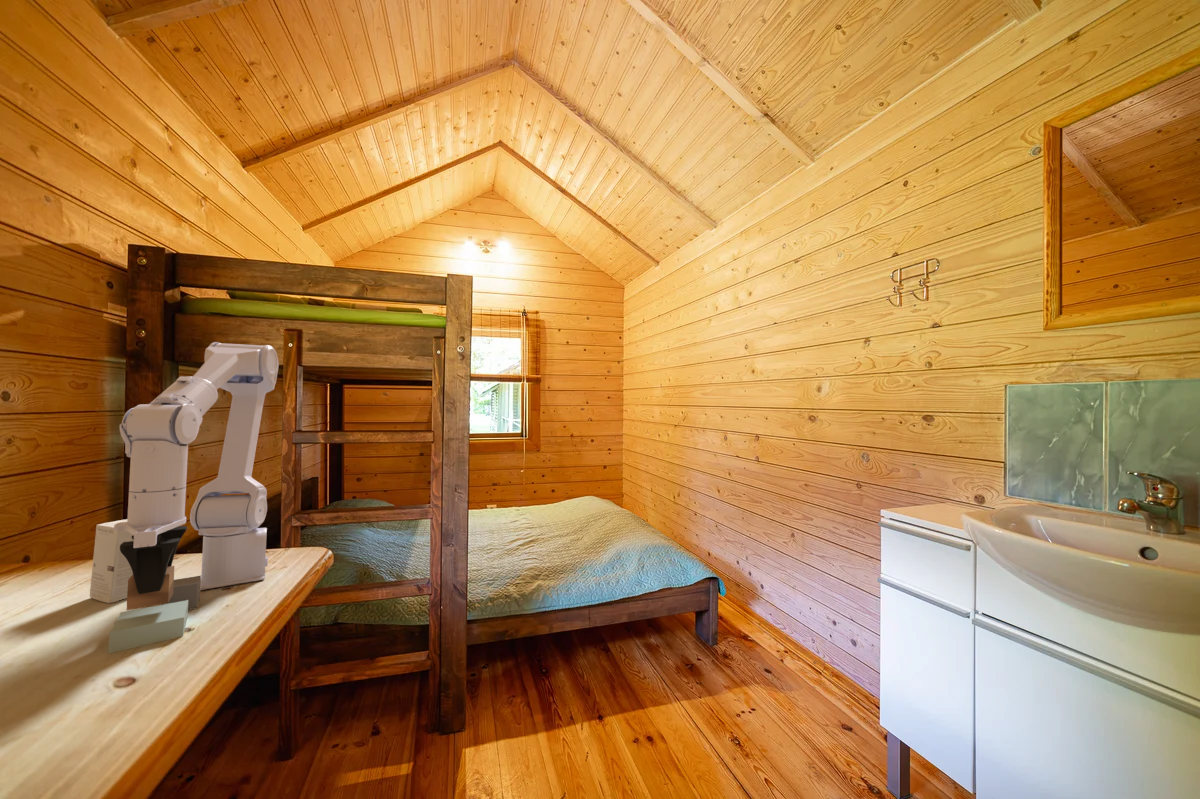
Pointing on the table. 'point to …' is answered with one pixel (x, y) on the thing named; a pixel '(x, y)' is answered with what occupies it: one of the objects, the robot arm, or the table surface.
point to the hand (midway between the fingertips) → (153, 586)
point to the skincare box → (110, 564)
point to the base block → (148, 626)
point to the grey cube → (186, 591)
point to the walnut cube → (150, 598)
